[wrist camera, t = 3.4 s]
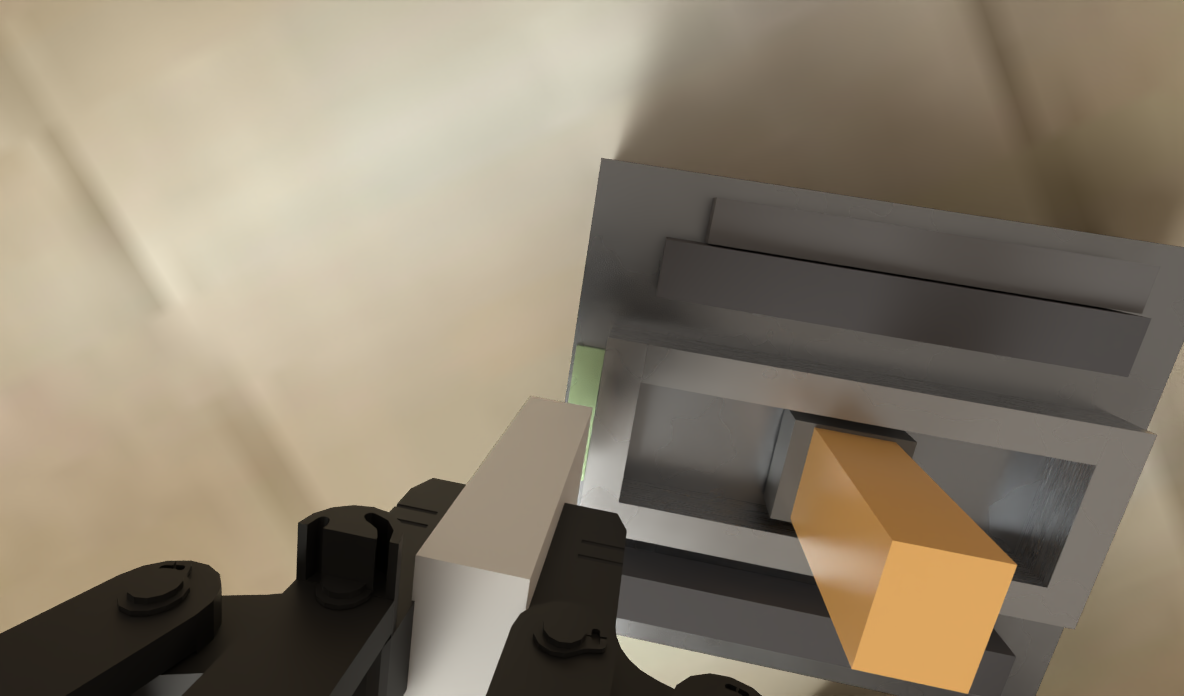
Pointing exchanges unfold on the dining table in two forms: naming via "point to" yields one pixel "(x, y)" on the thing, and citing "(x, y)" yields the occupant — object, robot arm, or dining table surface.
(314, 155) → the dining table surface
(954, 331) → the grey slider track plate
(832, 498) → the breaker lever
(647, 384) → the frame
